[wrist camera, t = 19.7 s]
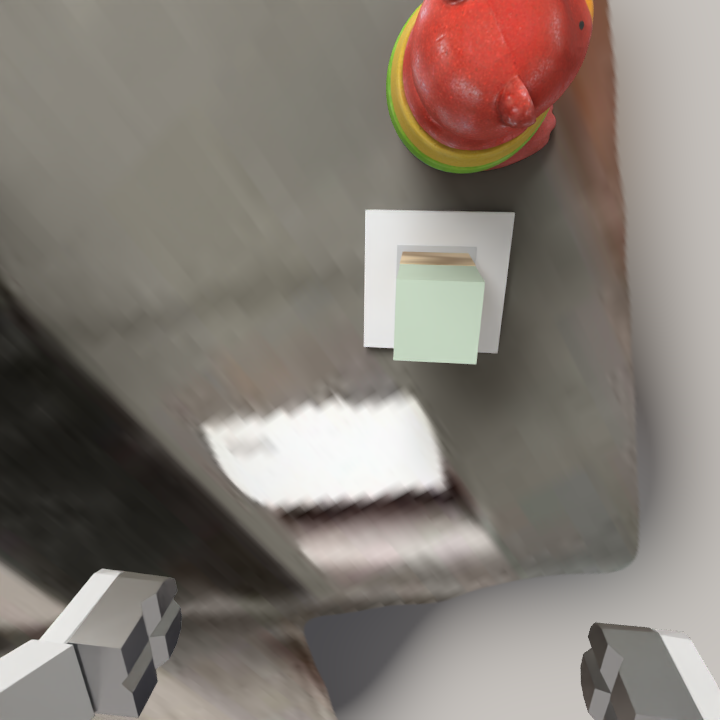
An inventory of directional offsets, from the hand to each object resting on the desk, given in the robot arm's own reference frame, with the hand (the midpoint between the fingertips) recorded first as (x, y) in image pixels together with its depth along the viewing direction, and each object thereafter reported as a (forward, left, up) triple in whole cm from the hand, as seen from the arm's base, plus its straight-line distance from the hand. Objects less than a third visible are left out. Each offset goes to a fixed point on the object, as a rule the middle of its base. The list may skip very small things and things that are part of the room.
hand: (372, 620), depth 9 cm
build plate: (+2, 0, -31) cm, 31 cm away
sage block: (+2, 0, -25) cm, 25 cm away
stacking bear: (+3, +13, -31) cm, 34 cm away
